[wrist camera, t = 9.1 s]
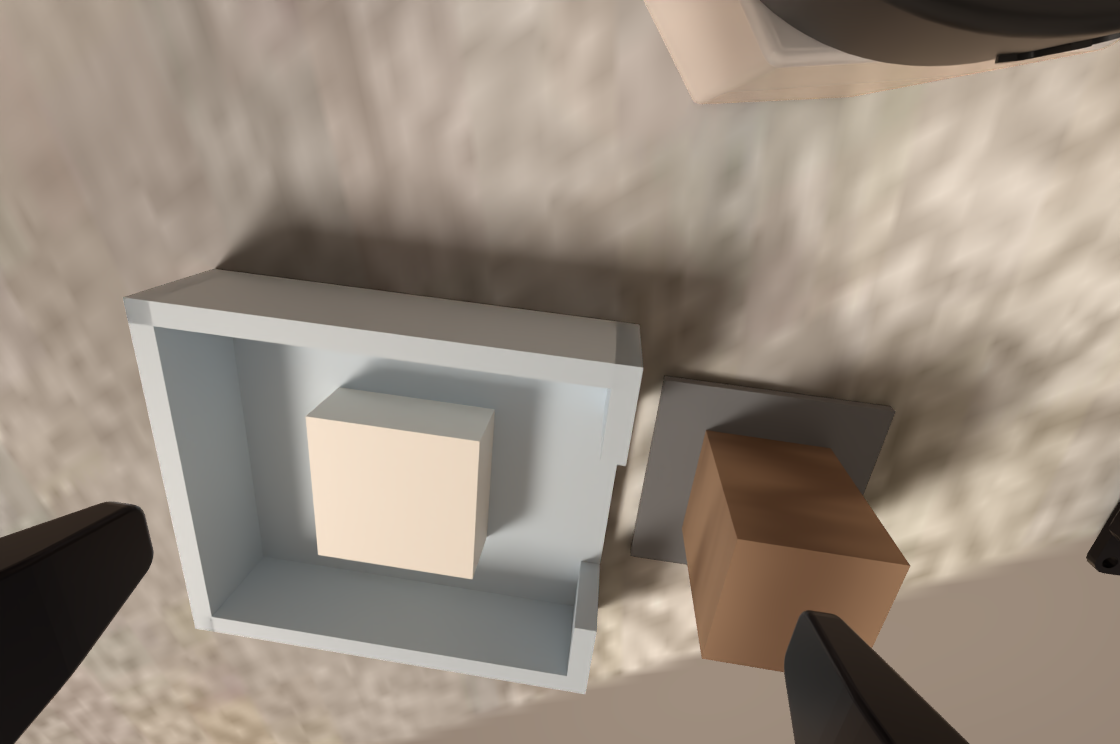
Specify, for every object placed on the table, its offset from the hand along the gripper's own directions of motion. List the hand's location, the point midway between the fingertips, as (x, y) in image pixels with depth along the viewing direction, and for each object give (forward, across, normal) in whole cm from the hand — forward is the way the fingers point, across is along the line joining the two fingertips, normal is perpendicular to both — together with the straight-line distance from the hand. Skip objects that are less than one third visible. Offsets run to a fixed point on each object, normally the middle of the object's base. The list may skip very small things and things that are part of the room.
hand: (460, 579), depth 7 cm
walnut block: (+13, -8, +6) cm, 16 cm away
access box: (+13, +5, +7) cm, 16 cm away
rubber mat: (+13, -8, +6) cm, 16 cm away
